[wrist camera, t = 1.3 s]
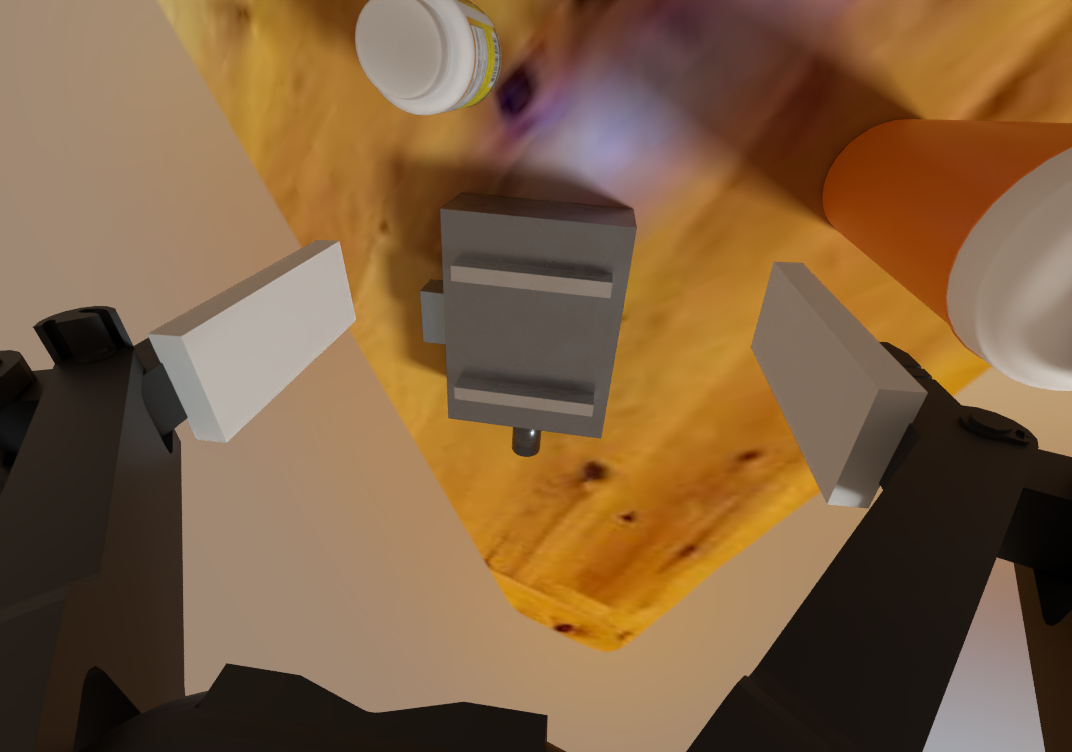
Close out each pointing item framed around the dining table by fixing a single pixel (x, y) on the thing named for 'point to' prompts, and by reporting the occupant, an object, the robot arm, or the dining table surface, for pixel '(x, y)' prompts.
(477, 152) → the dining table surface
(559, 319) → the motor block
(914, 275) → the shaker bottle
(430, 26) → the supplement bottle
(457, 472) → the dining table surface
